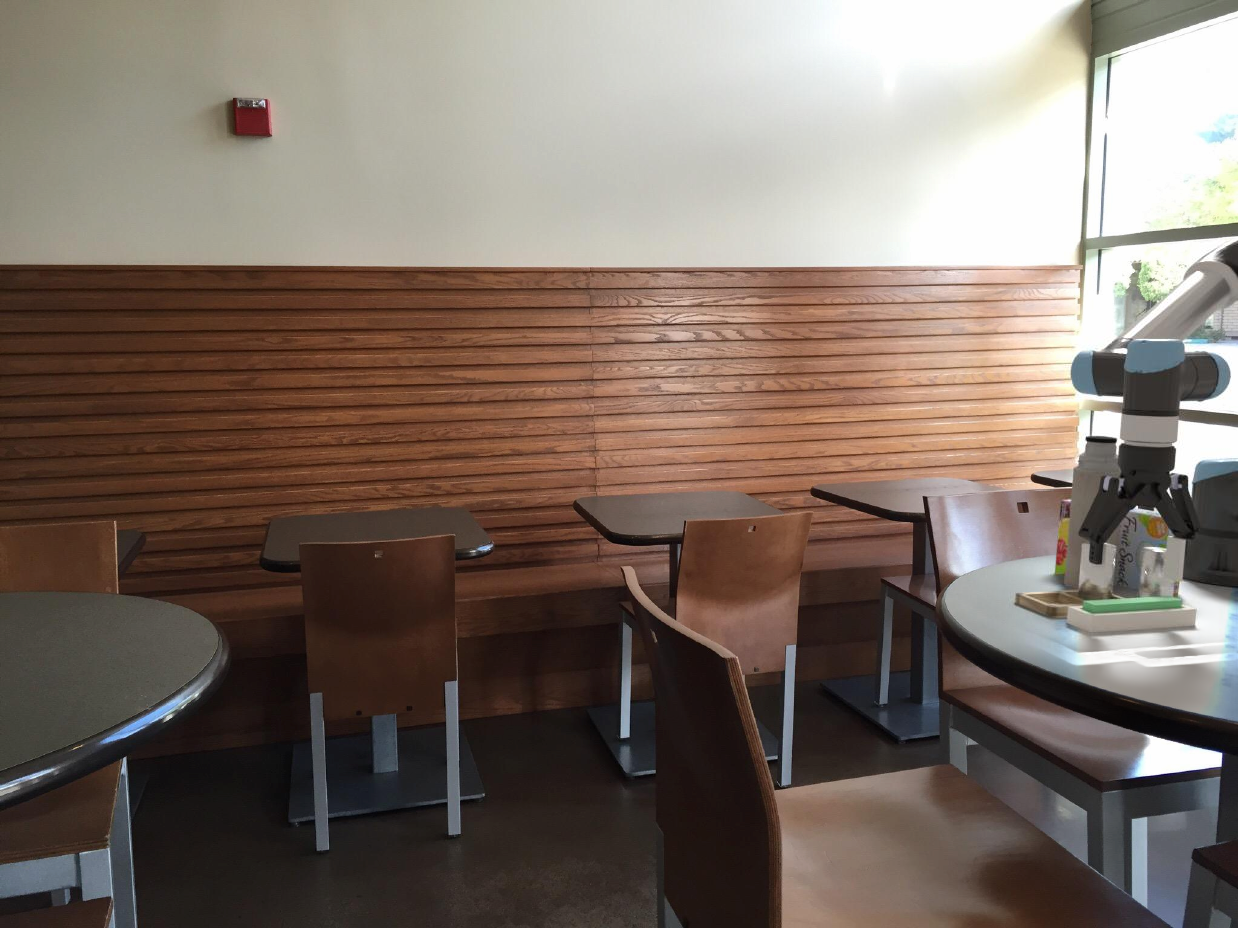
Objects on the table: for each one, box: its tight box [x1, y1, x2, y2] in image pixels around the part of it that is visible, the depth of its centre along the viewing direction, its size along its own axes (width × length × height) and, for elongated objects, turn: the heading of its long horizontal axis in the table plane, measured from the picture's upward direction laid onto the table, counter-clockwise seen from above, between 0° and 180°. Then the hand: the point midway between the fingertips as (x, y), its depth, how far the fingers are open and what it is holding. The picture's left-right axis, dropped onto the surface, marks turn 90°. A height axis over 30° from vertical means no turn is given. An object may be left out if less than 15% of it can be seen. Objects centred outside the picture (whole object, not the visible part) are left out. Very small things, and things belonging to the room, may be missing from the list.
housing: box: [1066, 603, 1197, 633], centre depth 147 cm, size 19×5×4 cm, turn 105°
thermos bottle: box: [1063, 435, 1121, 592], centre depth 169 cm, size 8×8×28 cm
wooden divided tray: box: [1012, 589, 1125, 619], centre depth 157 cm, size 16×10×3 cm, turn 105°
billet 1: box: [1078, 542, 1117, 601], centre depth 157 cm, size 5×5×10 cm
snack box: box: [1054, 498, 1180, 596], centre depth 174 cm, size 21×6×15 cm, turn 29°
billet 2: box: [1136, 547, 1175, 598], centre depth 156 cm, size 5×5×10 cm
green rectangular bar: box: [1082, 596, 1183, 613], centre depth 147 cm, size 16×2×4 cm, turn 105°
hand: (1136, 582), depth 147 cm, fingers open, 13 cm apart
